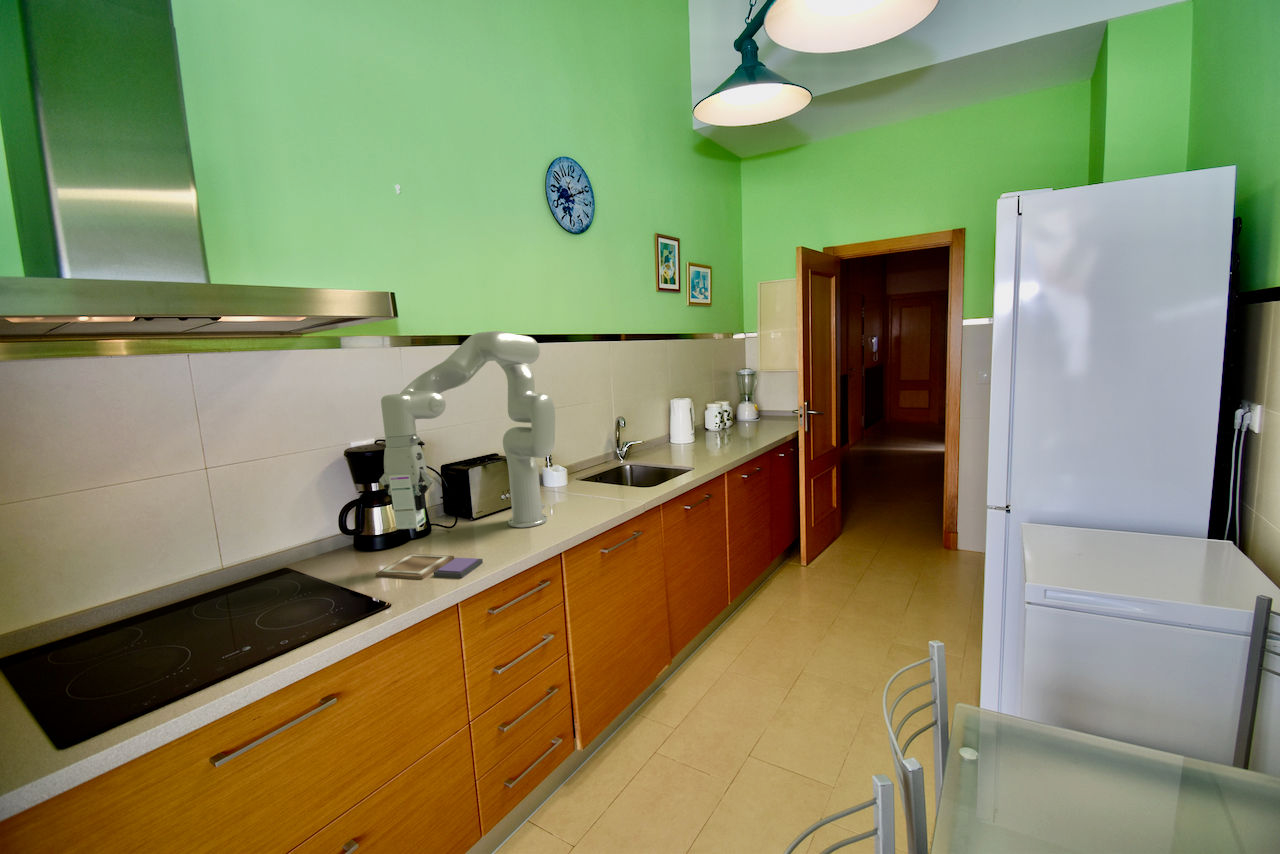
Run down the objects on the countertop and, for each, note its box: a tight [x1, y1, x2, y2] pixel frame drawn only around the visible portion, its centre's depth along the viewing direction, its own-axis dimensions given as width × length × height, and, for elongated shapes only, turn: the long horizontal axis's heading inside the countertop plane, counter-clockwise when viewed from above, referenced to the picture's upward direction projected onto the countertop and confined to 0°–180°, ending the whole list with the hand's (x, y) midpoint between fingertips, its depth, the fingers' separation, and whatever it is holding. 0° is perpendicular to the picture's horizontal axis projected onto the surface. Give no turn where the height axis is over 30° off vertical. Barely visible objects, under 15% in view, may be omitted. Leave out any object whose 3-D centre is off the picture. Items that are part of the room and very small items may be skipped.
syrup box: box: [389, 474, 427, 530], centre depth 146 cm, size 6×6×14 cm
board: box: [374, 553, 455, 580], centre depth 149 cm, size 14×14×1 cm
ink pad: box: [433, 557, 483, 579], centre depth 146 cm, size 8×10×2 cm
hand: (409, 508), depth 147 cm, fingers closed on syrup box, 6 cm apart
